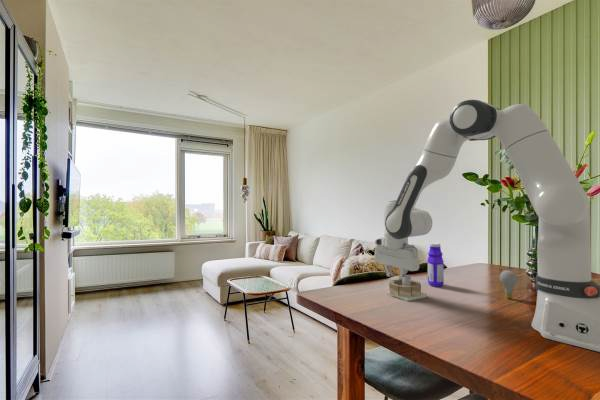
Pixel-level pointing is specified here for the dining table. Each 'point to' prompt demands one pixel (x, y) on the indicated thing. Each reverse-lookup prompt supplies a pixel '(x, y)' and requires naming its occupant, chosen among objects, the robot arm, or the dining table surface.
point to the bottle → (435, 265)
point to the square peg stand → (407, 282)
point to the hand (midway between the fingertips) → (395, 278)
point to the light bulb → (508, 282)
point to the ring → (405, 288)
